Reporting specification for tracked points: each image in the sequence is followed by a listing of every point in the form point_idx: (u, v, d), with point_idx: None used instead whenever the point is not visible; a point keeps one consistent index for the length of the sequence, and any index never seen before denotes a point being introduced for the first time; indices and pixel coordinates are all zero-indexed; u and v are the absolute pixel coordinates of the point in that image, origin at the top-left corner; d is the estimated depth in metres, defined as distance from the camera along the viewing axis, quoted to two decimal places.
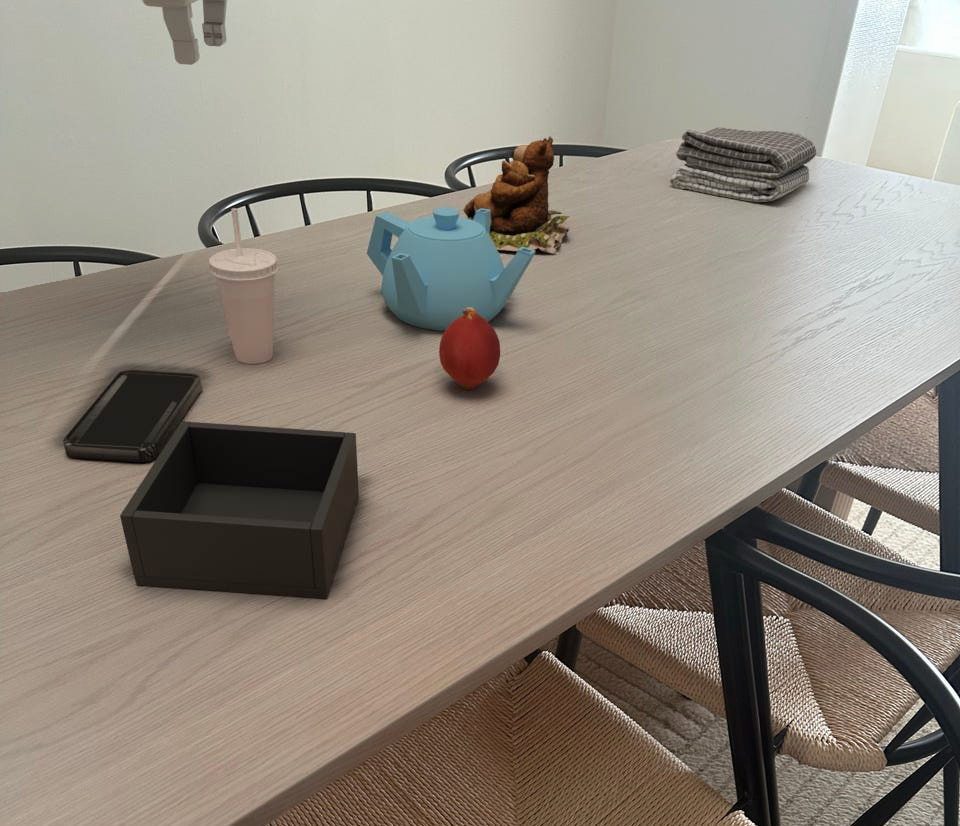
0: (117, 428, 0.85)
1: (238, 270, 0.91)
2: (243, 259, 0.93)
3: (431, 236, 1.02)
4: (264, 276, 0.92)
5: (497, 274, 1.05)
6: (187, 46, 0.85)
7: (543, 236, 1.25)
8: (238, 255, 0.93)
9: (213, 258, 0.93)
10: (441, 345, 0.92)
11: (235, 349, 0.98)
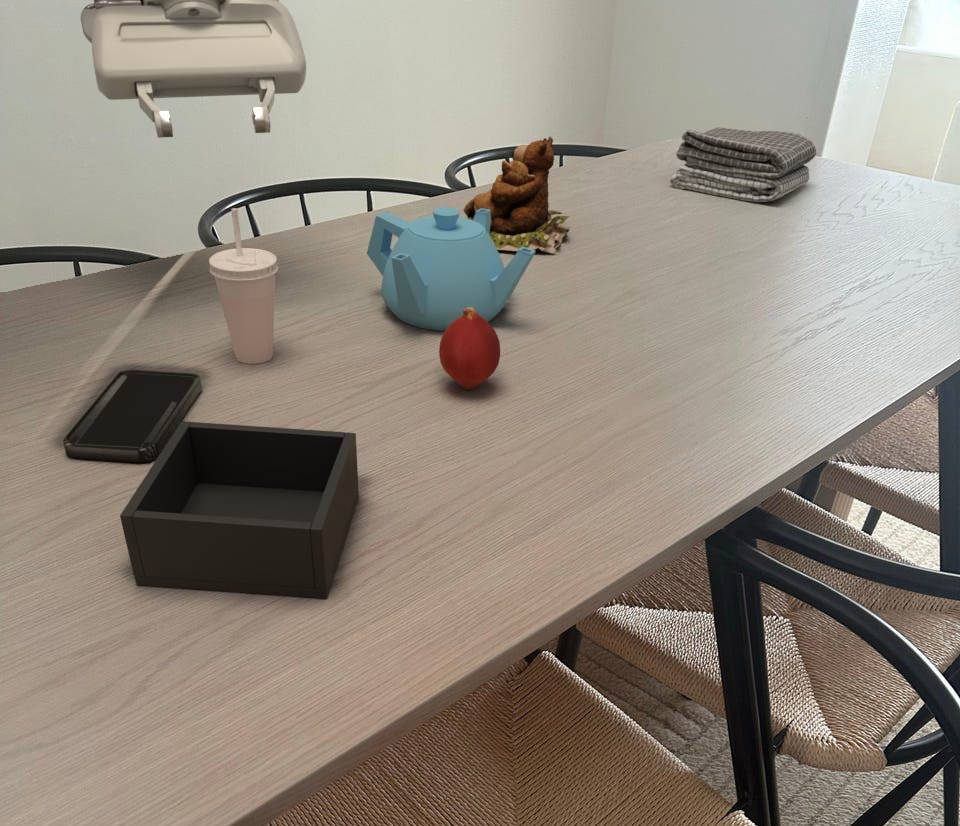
0: (117, 428, 0.85)
1: (238, 270, 0.91)
2: (243, 259, 0.93)
3: (431, 235, 1.02)
4: (264, 276, 0.92)
5: (497, 274, 1.05)
6: None
7: (543, 236, 1.25)
8: (238, 255, 0.93)
9: (213, 258, 0.93)
10: (441, 345, 0.92)
11: (235, 349, 0.98)
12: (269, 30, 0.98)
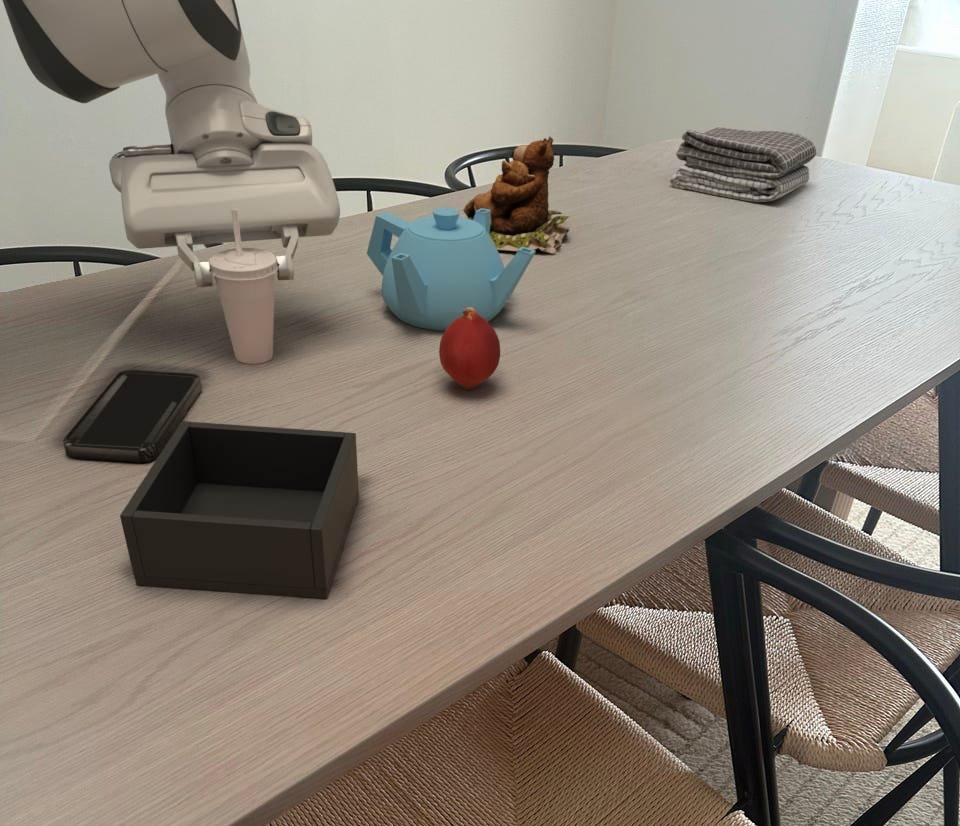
0: (117, 428, 0.85)
1: (238, 270, 0.91)
2: (243, 259, 0.93)
3: (431, 236, 1.02)
4: (264, 276, 0.92)
5: (497, 274, 1.05)
6: None
7: (543, 236, 1.25)
8: (238, 255, 0.93)
9: (213, 258, 0.93)
10: (441, 345, 0.92)
11: (235, 349, 0.98)
12: (302, 175, 0.95)
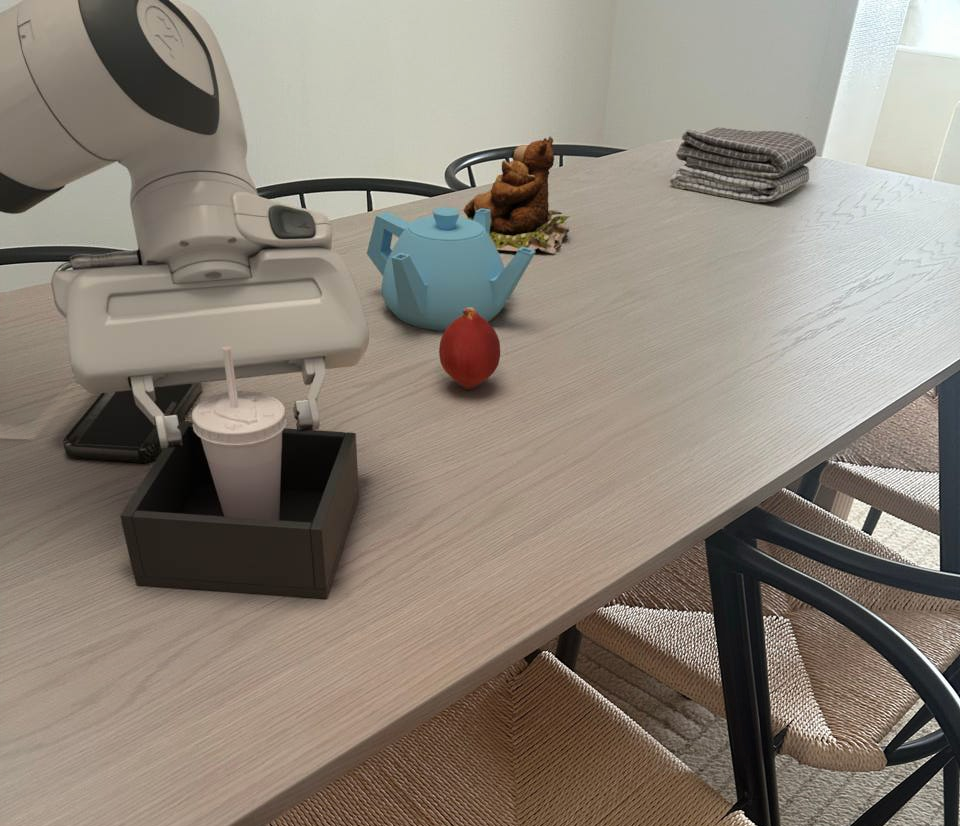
0: (117, 428, 0.85)
1: (232, 432, 0.66)
2: (239, 413, 0.67)
3: (431, 235, 1.02)
4: (268, 437, 0.67)
5: (497, 274, 1.05)
6: None
7: (543, 236, 1.25)
8: (232, 406, 0.68)
9: (198, 410, 0.68)
10: (441, 346, 0.92)
11: None
12: (318, 290, 0.69)
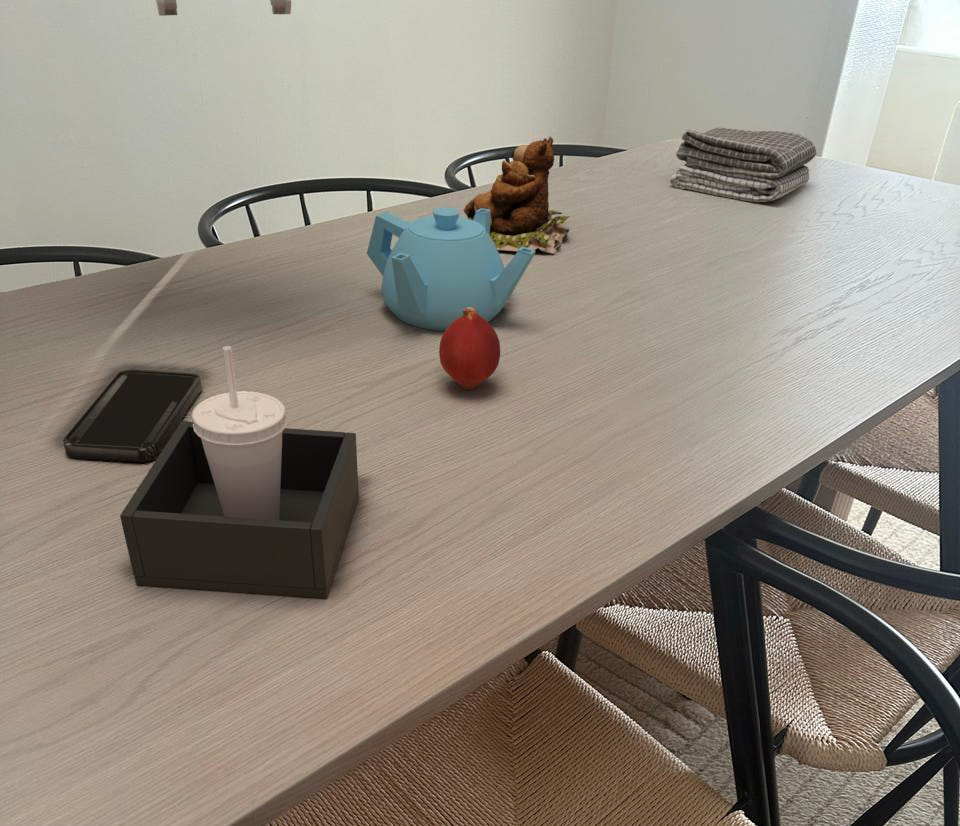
0: (117, 428, 0.85)
1: (232, 432, 0.66)
2: (239, 413, 0.67)
3: (431, 235, 1.02)
4: (268, 437, 0.67)
5: (497, 274, 1.05)
6: None
7: (543, 236, 1.25)
8: (232, 406, 0.68)
9: (198, 410, 0.68)
10: (441, 346, 0.92)
11: None
12: None
